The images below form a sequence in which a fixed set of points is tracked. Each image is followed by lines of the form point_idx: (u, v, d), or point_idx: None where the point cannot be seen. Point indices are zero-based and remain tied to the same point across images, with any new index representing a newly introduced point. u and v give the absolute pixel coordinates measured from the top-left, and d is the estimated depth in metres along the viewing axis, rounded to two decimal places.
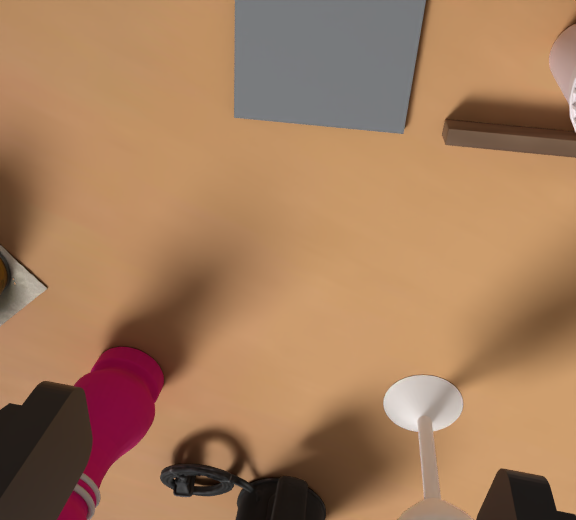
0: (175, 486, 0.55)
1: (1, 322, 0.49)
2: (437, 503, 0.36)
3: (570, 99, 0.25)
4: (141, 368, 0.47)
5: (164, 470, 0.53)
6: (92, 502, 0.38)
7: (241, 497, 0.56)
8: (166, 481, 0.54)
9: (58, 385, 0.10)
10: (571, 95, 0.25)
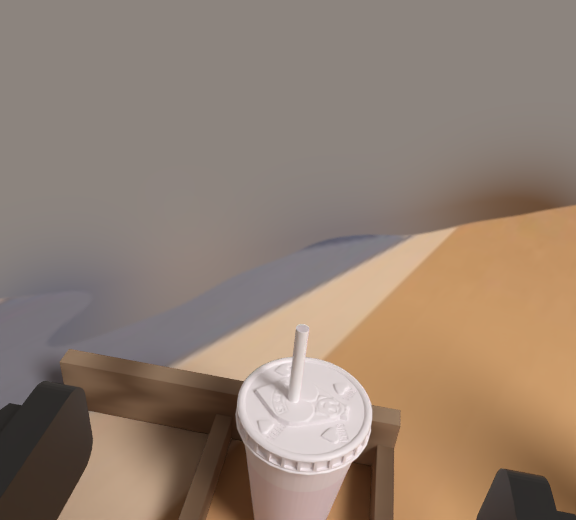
0: None
1: None
2: None
3: (308, 473, 0.23)
4: None
5: None
6: None
7: None
8: None
9: (58, 385, 0.10)
10: (303, 472, 0.23)
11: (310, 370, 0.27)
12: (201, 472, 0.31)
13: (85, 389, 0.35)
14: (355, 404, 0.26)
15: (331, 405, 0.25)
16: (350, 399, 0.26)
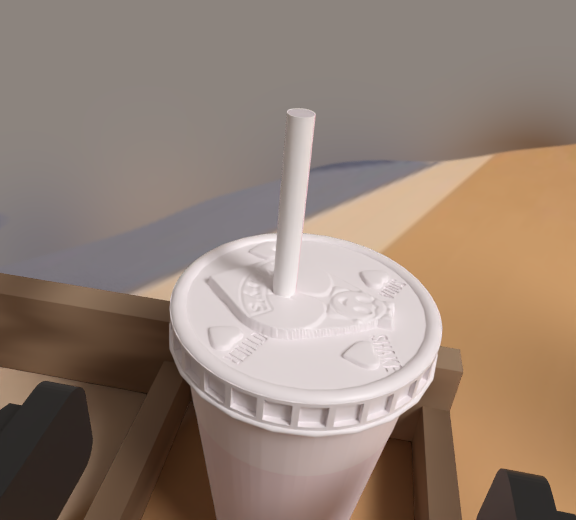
0: None
1: None
2: None
3: (315, 433, 0.11)
4: None
5: None
6: None
7: None
8: None
9: (58, 385, 0.10)
10: (305, 431, 0.11)
11: (316, 252, 0.15)
12: (129, 449, 0.18)
13: None
14: (405, 304, 0.13)
15: (359, 302, 0.13)
16: (394, 295, 0.13)
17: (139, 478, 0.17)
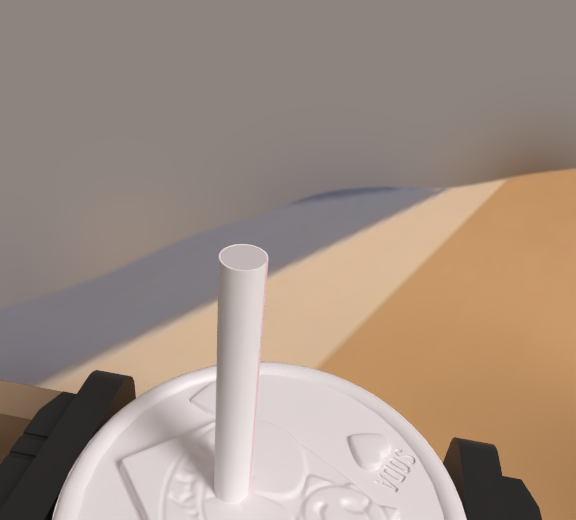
0: None
1: None
2: None
3: None
4: None
5: None
6: None
7: None
8: None
9: (110, 374, 0.11)
10: None
11: (287, 398, 0.10)
12: None
13: None
14: (416, 503, 0.09)
15: (346, 512, 0.08)
16: (399, 485, 0.09)
17: None
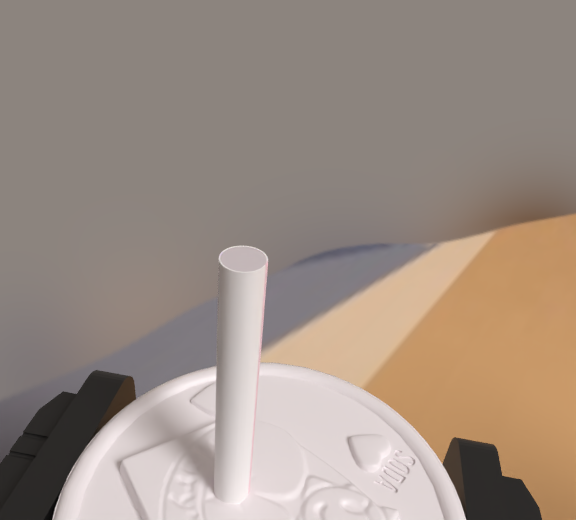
0: None
1: None
2: None
3: None
4: None
5: None
6: None
7: None
8: None
9: (110, 374, 0.11)
10: None
11: (287, 398, 0.10)
12: None
13: None
14: (415, 504, 0.09)
15: (346, 512, 0.08)
16: (398, 486, 0.09)
17: None
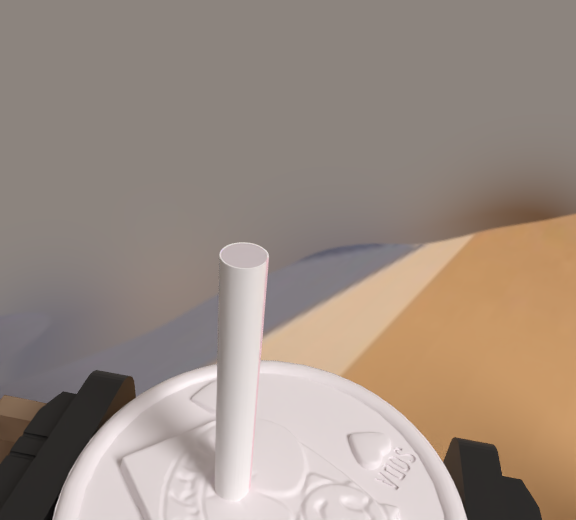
0: None
1: None
2: None
3: None
4: None
5: None
6: None
7: None
8: None
9: (110, 374, 0.11)
10: None
11: (287, 396, 0.10)
12: None
13: None
14: (416, 501, 0.09)
15: (346, 509, 0.08)
16: (399, 483, 0.09)
17: None
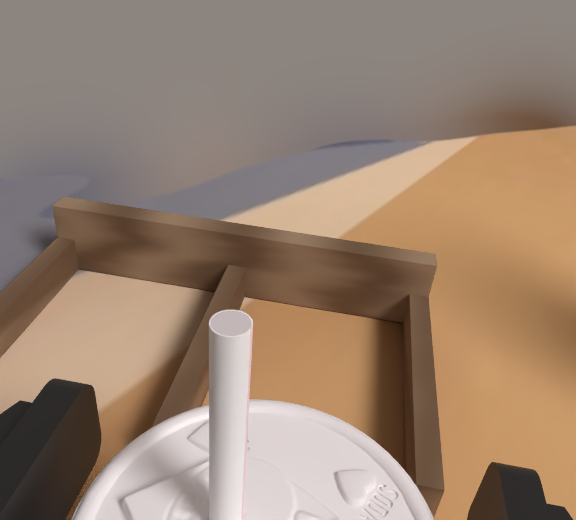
0: None
1: None
2: None
3: None
4: None
5: None
6: None
7: None
8: None
9: (68, 383, 0.10)
10: None
11: (279, 435, 0.11)
12: (213, 311, 0.27)
13: (81, 241, 0.31)
14: None
15: None
16: (382, 519, 0.10)
17: None
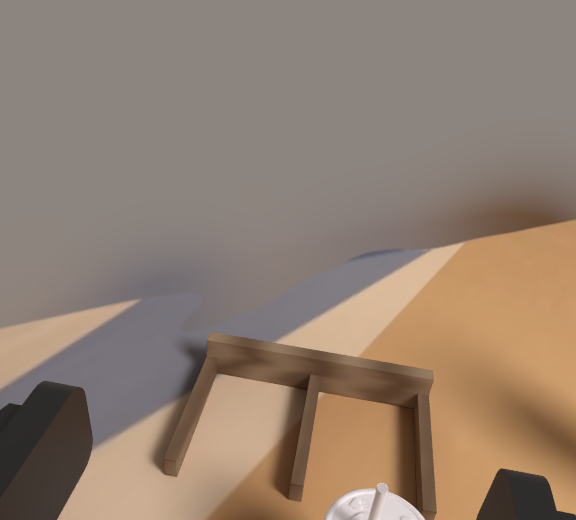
0: None
1: None
2: None
3: None
4: None
5: None
6: None
7: None
8: None
9: (58, 385, 0.10)
10: None
11: None
12: (308, 408, 0.48)
13: (221, 358, 0.53)
14: None
15: None
16: None
17: None
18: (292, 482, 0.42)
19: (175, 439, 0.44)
